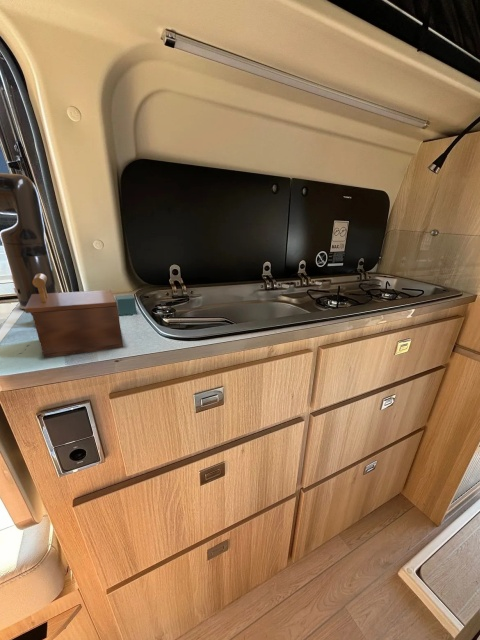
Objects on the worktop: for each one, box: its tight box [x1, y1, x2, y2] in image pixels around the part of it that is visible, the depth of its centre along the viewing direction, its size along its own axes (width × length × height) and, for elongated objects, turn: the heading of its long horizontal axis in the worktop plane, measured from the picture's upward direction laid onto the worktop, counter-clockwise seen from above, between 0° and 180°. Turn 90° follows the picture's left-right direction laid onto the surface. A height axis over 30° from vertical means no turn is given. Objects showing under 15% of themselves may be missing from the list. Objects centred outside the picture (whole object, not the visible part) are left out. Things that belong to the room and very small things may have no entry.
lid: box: [24, 273, 117, 314], centre depth 57 cm, size 14×12×5 cm
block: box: [114, 294, 138, 316], centre depth 82 cm, size 4×4×4 cm
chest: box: [31, 306, 124, 359], centre depth 60 cm, size 14×12×9 cm
